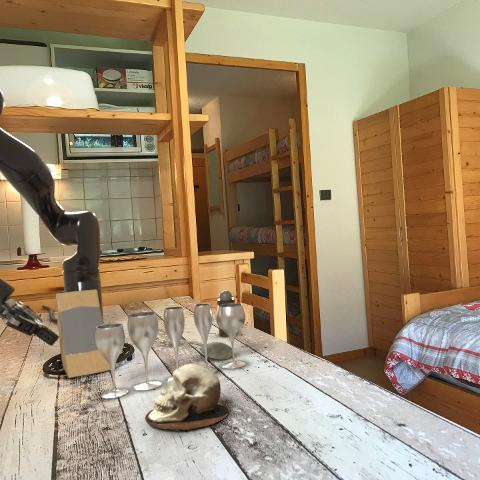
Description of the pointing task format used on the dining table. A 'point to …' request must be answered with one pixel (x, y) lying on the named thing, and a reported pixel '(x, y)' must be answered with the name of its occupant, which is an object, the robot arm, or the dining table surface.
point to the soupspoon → (214, 349)
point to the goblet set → (146, 331)
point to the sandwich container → (80, 332)
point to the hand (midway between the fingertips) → (55, 341)
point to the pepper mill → (224, 298)
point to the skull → (188, 400)
